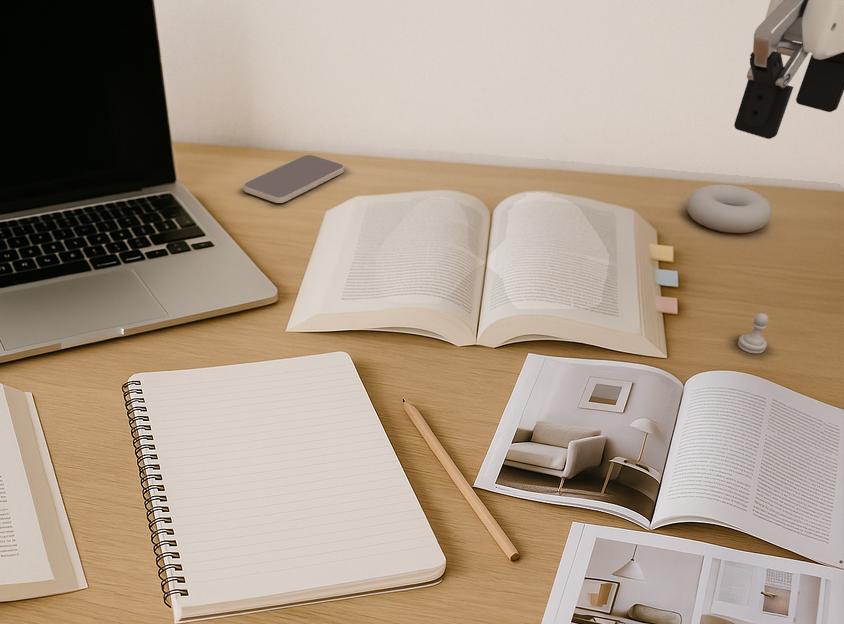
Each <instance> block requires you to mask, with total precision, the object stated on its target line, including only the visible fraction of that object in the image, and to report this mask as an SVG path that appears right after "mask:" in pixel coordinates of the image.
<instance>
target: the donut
mask: <svg viewBox="0 0 844 624" xmlns="http://www.w3.org/2000/svg"><path fill="white" fill-rule="evenodd" d="M771 205H772V204H771V203H770V202H769V201H768V199H767V198H766V197H765V196H763V195H761V194H760V193H758V192H756V191H755V190H752V189H749V188H746V187H743V186H739V185H734V184H733V185H732V184H720V183H719V184H707V185H704V186H702V187H699V188H697V189H695V190H694V191H693V192H692V193H691V194H690V195H689V196H688V198H687V202H686V210H687V213H688V215H689V216H690V217H691V219H692V220H693V221H695V222H696V223H698V224H699V225H701V226H704V227H705V228H708V229H711V230H715V231H718V232H721V233H728V234H729V233H730V234H732V233H733V234H745V233H753V232H755V231H757V230H760V229H762V228H764V227H765V226H766V225H767V224H768V223H769V222H770V220H771V218H772V214H773V213H772V206H771Z"/></svg>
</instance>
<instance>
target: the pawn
mask: <svg viewBox="0 0 844 624" xmlns="http://www.w3.org/2000/svg"><path fill="white" fill-rule="evenodd" d="M753 320H754V321H753V322H752V324H751V325H752V327H753V330H751V332H747V333H745V334H742V335H741V336H739V338H738V342H737V346H738V347H739V348H740V350H742V351H744V352H747V353H748V354H754V355H755V354H762V353H764V352H765V350H766V348H767V347H768V346H767V345H768V342H767V341H766V340H765V339H764V337H763V336H762V330H764V329H766V328H767V324H768V323H769V321H770V320H769V316H768V314H767V313H764V312H760V313H757V314H756V315H755V316H754V318H753Z"/></svg>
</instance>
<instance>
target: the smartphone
mask: <svg viewBox="0 0 844 624" xmlns="http://www.w3.org/2000/svg"><path fill="white" fill-rule="evenodd" d="M344 172H345V165H344V164H342V163H341V162H340V163H339V162H337V161H333V160H330V159H327V158H325V157H320V156H317V155H313V154H305V155H302V156H299V157H298V158H295V159H294V160H291V161H288V162H287V163H284V164H282V165H280V166H278V167H276V168H274V169H271V170H269V171H267V172H265V173H263V174H261V175H258V176H256V177H254V178H252V179H250V180H248V181H246V182H244V183H243V185H242V186H243V187H242V188H243V192H245V193H247V194H250V195H252V196H256V197H259V198H261V199H264V200H265V201H269V202H272V203H276V204H283V203H286V202H288V201H290V200H291V199H294V198H296V197H297V196H300V195H302V194H304V193H306V192H309V190H312V189H314V188H316V187H319V186H320V185H321V184H324V183H325V182H327V181H330V180H331V179H333V178H335V177H337V176H339V175H341V174H343V173H344Z"/></svg>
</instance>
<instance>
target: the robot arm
mask: <svg viewBox="0 0 844 624" xmlns="http://www.w3.org/2000/svg"><path fill="white" fill-rule="evenodd" d="M810 53H811V55H810V58H809V60H808V64H807V67H806V69H805V73H804V75H803V78H802V81H801V83H800V84H801V85H800V87H799V90H798V93H797V95H796V97H795V102H796V104H798V105H800V106H804V107H808V108H812V109H815V110H819V111H823V112H826V113H832V112H834V111H836V110H838V107H839V105H840V102H841V100H842V97H843V94H844V0H769V4H768V7H767V11H766V14H765V17H764V20H763V21H762V22H761V23H760V24H759V25H758V26H757V27H756V29H755V31H754V33H753V45H752V52H751V53H750V54H749V57H750V58H749V65H750V67H749V69H748V71H747V73H746V79H747V82H746V86H745V88H744V92H743V95H742V98H741V103H740V105H739V108H738V111H737V115H736V118H735V121H734V125H733V127H734V128H735V130H737V131H739V132H743V133H746V134H749V135H753V136H756V137H760V138H763V139H767V140H771V139H773V138H775V137H776V136H778V133H779V130H780V127H781V124H782V121H783V120H784V119H783V118H784V115H785V113H786V110H787V107H788V104H789V101H790V98H791V96H792V92H793V90H794V86H792V85H789V84H790V82H791V81H792V79H793V78H794V76H795V75H796V74H797V72H798V70H799V69H800V67H801V66H802V64H803V63H804V61H805V60H806V58H807V56H808V55H809V54H810ZM782 56H787V57H789V58H788V59H787V61H786V63H785V64H784V62H783V57H782Z"/></svg>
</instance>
